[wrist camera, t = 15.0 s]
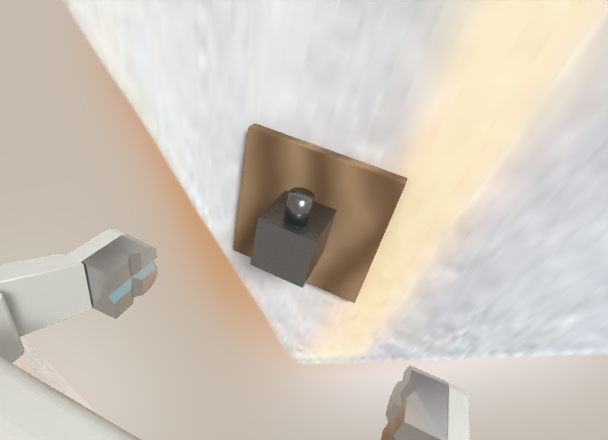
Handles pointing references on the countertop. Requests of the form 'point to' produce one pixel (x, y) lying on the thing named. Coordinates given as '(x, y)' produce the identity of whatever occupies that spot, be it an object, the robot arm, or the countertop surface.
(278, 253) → the grey block with cylinder
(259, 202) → the brown square plate
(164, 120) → the countertop surface
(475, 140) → the countertop surface
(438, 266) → the countertop surface
